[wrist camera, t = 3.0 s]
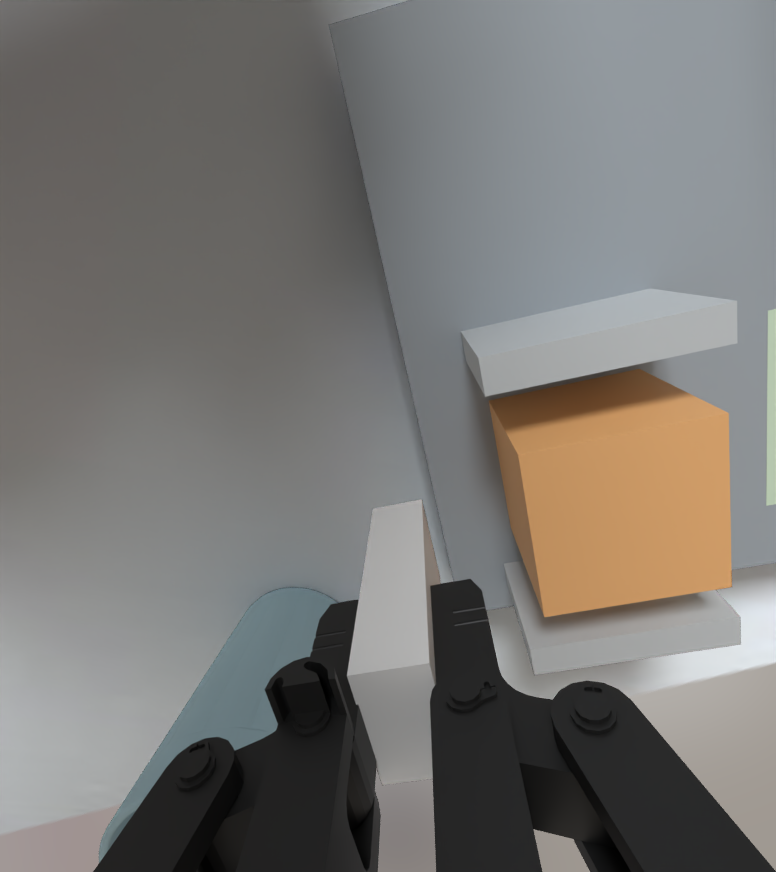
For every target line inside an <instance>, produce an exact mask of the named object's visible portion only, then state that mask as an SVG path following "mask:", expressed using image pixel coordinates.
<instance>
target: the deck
mask: <svg viewBox="0 0 776 872" xmlns="http://www.w3.org/2000/svg"><path fill="white" fill-rule="evenodd" d="M329 28H330V33H331V37H332V41H333V46H334V50H335V55H336V59H337V64H338V68H339V73H340V77H341V81H342V86H343V90H344V95H345V99H346V104H347V108H348V113H349V117H350V122H351V126H352V130H353V135H354V139H355V144H356V148H357V153H358V157H359V162H360V166H361V170H362V175H363V179H364V184H365V188H366V193H367V197H368V202H369V206H370V211H371V215H372V219H373V224H374V228H375V233H376V237H377V242H378V246H379V251H380V255H381V259H382V264H383V268H384V273H385V277H386V282H387V286H388V291H389V295H390V300H391V304H392V308H393V313H394V317H395V322H396V326H397V331H398V335H399V340H400V344H401V348H402V353H403V357H404V362H405V366H406V371H407V375H408V380H409V384H410V389H411V393H412V397H413V402H414V406H415V411H416V415H417V420H418V424H419V429H420V433H421V437H422V442H423V446H424V451H425V455H426V460H427V464H428V469H429V473H430V477H431V482H432V486H433V491H434V495H435V500H436V504H437V509H438V513H439V518H440V522H441V526H442V531H443V535H444V540H445V544H446V549H447V553H448V558H449V562H450V566H451V571H452V575H453V580H454V582H455V581H461V580H466V579H471V580H472V581H473V582H474V583H475V584H476V585H477V586H478V587H479V588H480V589H481V590H482V593H483V598H484V602H485V607H486V611H487V610H493V609H499V608H505V607H511V606H514V608H515V612H516V615H517V618H518V622H519V625H520V628H521V632H522V635H523V639H524V642H525V645H526V649H527V652H528V655H529V659H530V662H531V665H532V669H533V672H534V675H540V674H546V673H553V672H560V671H566V670H573V669H580V668H586V667H593V666H600V665H606V664H613V663H620V662H627V661H633V660H640V659H647V658H653V657H660V656H667V655H673V654H680V653H687V652H693V651H700V650H707V649H713V648H720V647H727V646H733V645H740V644H741V620H740V616H739V615H738V614H737V612H736V611H735V610H734V609H733V608H732V607H731V606H730V605H729V604H728V603H727V601H726V600H725V599H724V598H723V597H722V596H721V595H720V594H719V593H718V592H717V591H716V590H710V591H704V592H698V593H692V594H686V595H680V596H673V597H667V598H661V599H655V600H649V601H642V602H636V603H630V604H624V605H618V606H612V607H605V608H599V609H593V610H587V611H581V612H574V613H568V614H562V615H556V616H550V617H544V615H543V612H542V610H541V607H540V604H539V602H538V599H537V596H536V594H535V591H534V588H533V586H532V583H531V580H530V578H529V575H528V572H527V570H526V567H525V564H524V562H523V559H522V556H521V553H520V551H519V548H518V545H517V543H516V540H515V537H514V535H513V532H512V529H511V526H510V520H509V515H508V509H507V503H506V497H505V492H504V486H503V480H502V475H501V469H500V463H499V457H498V452H497V446H496V440H495V435H494V429H493V423H492V417H491V412H490V406H489V400H494V399H498V398H503V397H508V396H513V395H517V394H522V393H527V392H532V391H536V390H541V389H546V388H551V387H555V386H560V385H565V384H570V383H574V382H579V381H584V380H589V379H593V378H598V377H603V376H607V375H612V374H617V373H622V372H626V371H631V370H636V369H641V370H643V371H645V372H647V373H649V374H651V375H653V376H655V377H657V378H659V379H661V380H663V381H665V382H667V383H669V384H671V385H673V386H675V387H677V388H679V389H681V390H683V391H685V392H687V393H689V394H691V395H693V396H695V397H697V398H699V399H701V400H703V401H705V402H707V403H710V404H712V405H714V406H716V407H718V408H720V409H722V410H724V411H726V412H728V413H729V453H730V511H731V570H735V569H741V568H747V567H753V566H759V565H765V564H771V563H776V0H409V1H406V2H402V3H399V4H396V5H392V6H389V7H386V8H382V9H379V10H376V11H373V12H369V13H366V14H363V15H359V16H356V17H353V18H350V19H346V20H343V21H340V22H336V23H333V24H330V25H329Z"/></svg>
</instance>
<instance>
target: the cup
mask: <svg viewBox="0 0 776 872" xmlns="http://www.w3.org/2000/svg"><path fill="white" fill-rule="evenodd" d="M335 603H337V602H336V601H334V600H333V599H331V598H330V597H328V596H326V595H324V594H322V593H320V592H318V591H315V590H311V589H305V588H296V587H290V588H283V589H279V590H275V591H272V592H269V593H267V594H265V595H263V596H262V597H260V598H259V599H258V600H257V601H256V602H255V603H254V604H252V605H251V606H250V607H249V609H248V610H247V612H246V613H245V615H244V616H243V617H242V619H241V621H240V622H239V624H238V625H237V627H236V628H235V630H234V631H233V633H232V634H231V636H230V637H229V639H228V640H227V642H226V644H225V645H224V647H223V648H222V650H221V651H220V653H219V654H218V656H217V658H216V659H215V661H214V662H213V664H212V665H211V667H210V668H209V670H208V672H207V673H206V675H205V676H204V678H203V679H202V681H201V682H200V684H199V686H198V687H197V689H196V690H195V692H194V693H193V695H192V696H191V698H190V700H189V701H188V703H187V704H186V706H185V707H184V709H183V710H182V712H181V714H180V715H179V717H178V718H177V720H176V721H175V723H174V724H173V726H172V728H171V729H170V731H169V732H168V734H167V735H166V737H165V738H164V740H163V742H162V743H161V745H160V746H159V748H158V749H157V751H156V752H155V754H154V756H153V757H152V759H151V760H150V762H149V763H148V765H147V766H146V768H145V769H144V771H143V772H142V774H141V775H140V777H139V778H138V780H137V781H136V783H135V785H134V786H133V788H132V789H131V791H130V792H129V794H128V795H127V797H126V799H125V800H124V802H123V803H122V805H121V806H120V808H119V809H118V811H117V813H116V814H115V816H114V817H113V819H112V820H111V822H110V824H109V825H108V827H107V828H106V831H105V833H104V835H103V837H102V840H101V844H100V850H99V863H100V861H101V860H102V859H103V857H104V856H105V854H106V853H107V851H108V850H109V849H110V847H111V846H112V844H113V843H114V841H115V840H116V839H117V837H118V836H119V834H120V833H121V831H122V830H123V829H124V827H125V826H126V824H127V823H128V821H129V820H130V819H131V817H132V816H133V814H134V813H135V811H136V810H137V809H138V807H139V806H140V804H141V803H142V801H143V800H144V799H145V797H146V796H147V794H148V793H149V791H150V790H151V789H152V787H153V786H154V784H155V783H156V781H157V780H158V779H159V777H160V776H161V774H162V773H163V771H164V770H165V769H166V767H167V766H168V765H169V764H170V763H171V761H172V760H173V759H174V758H175V757H176V756H177V755H178V754H179V753H180V752H181V751H183V750H184V749H186V748H187V747H188V746H190V745H191V744H193V743H195V742H198V741H200V740H202V739H205V738H211V737H220V738H223V739H226V740H228V741H229V742H230V744H231V745H232V747H233V748H234V750H238V749H240V748H242V747H244V746H247V745H249V744H251V743H254V742H256V741H258V740H261V739H263V738H264V737H266V736H268V735H270V734H272V733H273V732H274V731H276V729H277V726H278V723H277V721H276V718H275V715H274V713H273V710H272V708H271V705H270V702H269V700H268V697H267V695H266V692H265V690H264V689H265V688H266V686H267V684H268V682H269V681H270V679H271V678H272V677H273V676H274V675H275V674H276V673H277V672H278V671H279V670H280V669H281V668H282V667H284V666H286V665H287V664H289V663H291V662H293V661H295V660H298V659H302V658H305V657H310V654H311V651H312V646H313V643H314V639H315V638H316V631H317V627H318V623H319V619H320V618H321V617H322V615H323V614H324V613H325V611H326V610H327V609H328V607H329V606H330V605H331V604H335Z"/></svg>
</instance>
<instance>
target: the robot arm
mask: <svg viewBox="0 0 776 872" xmlns="http://www.w3.org/2000/svg"><path fill="white" fill-rule="evenodd" d="M264 690H265V692H266V695H267V697H268V700H269V702H270V705H271V708H272V710H273V713H274V715H275V718H276V721H277V723H278V726H277V729H276V731H274V732H273V733H272V734H270V735H268V736H266V737H264V738H263V739H261V740H258V741H256V742H254V743H251V744H249V745H247V746H244V747H242V748H240V749H238V750H234V748H233V747H232V745H231V744H230V742H229V741H228V740H226V739H223V738H220V737H211V738H205V739H202V740H200V741H198V742H195V743H193V744H191V745H190V746H188V747H187V748H186V749H184V750H183V751H181V752H180V753H179V754H178V755H177V756H176V757H175V758H174V759H173V760H172V761H171V763H170V764H169V765H168V766H167V767H166V769H165V770H164V771H163V773H162V774H161V776H160V777H159V779H158V780H157V781H156V783H155V784H154V786H153V787H152V789H151V790H150V791H149V793H148V794H147V796H146V797H145V799H144V800H143V801H142V803H141V804H140V806H139V807H138V809H137V810H136V811H135V813H134V814H133V816H132V817H131V819H130V820H129V821H128V823H127V824H126V826H125V827H124V829H123V830H122V831H121V833H120V834H119V836H118V837H117V839H116V840H115V841H114V843H113V844H112V846H111V847H110V849H109V850H108V851H107V853H106V854H105V856H104V857H103V859H102V860H101V861H100V863H99V864H98V866H97V867H96V869H95V870H94V871H93V872H378V854H379V835H380V809H379V802H378V799H377V796H376V793H375V777H376V768H377V771H378V774H379V777H380V781H381V784H382V785H389V784H397V783H405V782H413V781H421V780H428V779H433V796H434V822H435V844H436V845H435V848H436V872H542V868H541V864H540V859H539V854H538V850H537V845H536V840H535V835H534V831H533V829H535V830H540V831H544V832H548V833H552V834H556V835H560V836H564V837H568V838H572V839H574V841H575V843H576V845H577V847H578V849H579V851H580V853H581V855H582V857H583V859H584V861H585V863H586V864H587V866H588V868H589V870H590V872H776V871H775V870H774V869H773V868H772V866H771V865H770V864H769V863H768V862H767V860H766V859H765V858H764V857H763V856H762V854H761V853H760V852H759V851H758V850H757V849H756V848H755V846H754V845H753V844H752V843H751V842H750V840H749V839H748V838H747V837H746V836H745V834H744V833H743V832H742V831H741V830H740V828H739V827H738V826H737V825H736V824H735V823H734V821H733V820H732V819H731V818H730V817H729V815H728V814H727V813H726V812H725V811H724V809H723V808H722V807H721V806H720V805H719V804H718V802H717V801H716V800H715V799H714V798H713V796H712V795H711V794H710V793H709V792H708V791H707V789H706V788H705V787H704V786H703V785H702V784H701V782H700V781H699V780H698V779H697V778H696V776H695V775H694V774H693V773H692V772H691V770H690V769H689V768H688V767H687V766H686V764H685V763H684V762H683V761H682V760H681V759H680V757H679V756H678V755H677V754H676V753H675V751H674V750H673V749H672V748H671V747H670V746H669V744H668V743H667V742H666V741H665V740H664V739H663V737H662V736H661V735H660V734H659V733H658V731H657V730H656V729H655V728H654V727H653V725H652V724H651V723H650V722H649V721H648V720H647V718H646V717H645V716H644V715H643V714H642V712H641V711H640V710H639V709H638V708H637V707H636V705H635V704H634V703H633V702H632V701H631V700H630V699H629V698H628V697H627V696H626V695H625V694H623V693H622V692H621V691H620V690H619V689H616V688H614V687H612V686H609V685H607V684H605V683H600V682H592V681H583V682H578V683H572V684H570V685H568V686H567V687H565V688H563V689H561V690H560V691H559V692H558V694H557V695H556V696H555V698H554V699H553V700H550V699H543V698H537V697H532V696H528V695H525V694H523V693H521V692H519V691H516V690H515V689H514V688H512V687H511V686H510V685H508V684H507V682H506V681H505V680H504V679H503V677H502V676H501V673H500V670H499V667H498V663H497V658H496V653H495V649H494V644H493V639H492V635H491V630H490V626H489V621H488V616H487V612H486V607H485V602H484V598H483V593H482V590H481V589H480V588H479V587H478V586H477V585H476V584H475V583H474V582H473V581H472V580H471V579H466V580H461V581H455V582H449V583H443V584H441V583H440V575H439V570H438V566H437V562H436V558H435V553H434V549H433V545H432V540H431V536H430V532H429V528H428V523H427V519H426V515H425V510H424V506H423V502H422V499H419V500H414V501H409V502H404V503H398V504H393V505H388V506H383V507H378V508H373V511H372V517H371V524H370V530H369V537H368V543H367V550H366V556H365V562H364V569H363V575H362V582H361V588H360V595H359V599H358V600H353V601H347V602H341V603H335V604H331V605H330V606H329V607H328V609H327V610H326V611H325V613H324V614H323V615H322V617H321V618H320V619H319V623H318V627H317V631H316V638H315V639H314V643H313V646H312V651H311V654H310V657H305V658H302V659H298V660H295V661H293V662H291V663H289V664H287V665H286V666H284V667H282V668H281V669H280V670H279V671H278V672H277V673H276V674H275V675H274V676H273V677H272V678H271V679H270V681H269V682H268V684H267V686H266V688H265V689H264Z"/></svg>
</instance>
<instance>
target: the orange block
mask: <svg viewBox="0 0 776 872" xmlns="http://www.w3.org/2000/svg"><path fill="white" fill-rule="evenodd" d="M489 406H490V412H491V417H492V423H493V429H494V435H495V440H496V446H497V452H498V457H499V463H500V469H501V475H502V480H503V486H504V492H505V497H506V503H507V509H508V515H509V520H510V526H511V529H512V532H513V535H514V537H515V540H516V543H517V545H518V548H519V551H520V553H521V556H522V559H523V562H524V564H525V567H526V570H527V572H528V575H529V578H530V580H531V583H532V586H533V588H534V591H535V594H536V596H537V599H538V602H539V604H540V607H541V610H542V612H543V615H544V617H550V616H556V615H562V614H568V613H574V612H581V611H587V610H593V609H599V608H605V607H612V606H618V605H624V604H630V603H636V602H642V601H649V600H655V599H661V598H667V597H673V596H680V595H686V594H692V593H698V592H704V591H710V590H717V589H723V588H729V587H732V570H731V511H730V453H729V413H728V412H726V411H724V410H722V409H720V408H718V407H716V406H714V405H712V404H710V403H707V402H705V401H703V400H701V399H699V398H697V397H695V396H693V395H691V394H689V393H687V392H685V391H683V390H681V389H679V388H677V387H675V386H673V385H671V384H669V383H667V382H665V381H663V380H661V379H659V378H657V377H655V376H653V375H651V374H649V373H647V372H645V371H643V370H641V369H636V370H631V371H626V372H622V373H617V374H612V375H607V376H603V377H598V378H593V379H589V380H584V381H579V382H574V383H570V384H565V385H560V386H555V387H551V388H546V389H541V390H536V391H532V392H527V393H522V394H517V395H513V396H508V397H503V398H498V399H494V400H489Z"/></svg>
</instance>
